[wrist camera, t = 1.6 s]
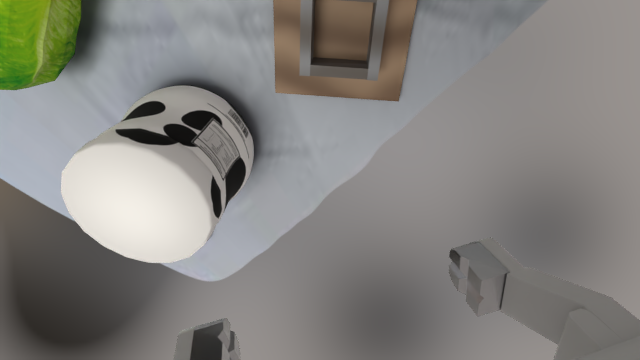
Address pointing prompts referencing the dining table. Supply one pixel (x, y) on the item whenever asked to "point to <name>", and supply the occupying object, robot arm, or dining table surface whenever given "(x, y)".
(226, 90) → the dining table surface
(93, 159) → the milk container
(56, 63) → the lettuce
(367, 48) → the stand
